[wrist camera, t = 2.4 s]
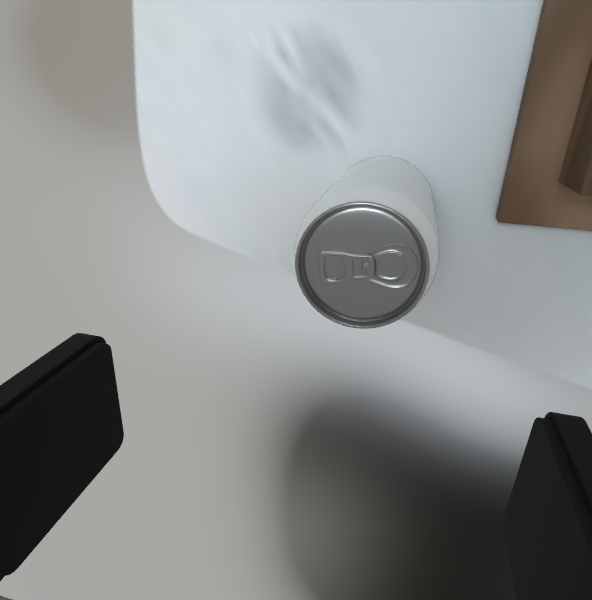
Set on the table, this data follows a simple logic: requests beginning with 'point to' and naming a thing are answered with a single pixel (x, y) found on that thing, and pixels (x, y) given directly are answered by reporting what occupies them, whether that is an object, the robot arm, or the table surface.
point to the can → (369, 245)
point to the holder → (554, 126)
